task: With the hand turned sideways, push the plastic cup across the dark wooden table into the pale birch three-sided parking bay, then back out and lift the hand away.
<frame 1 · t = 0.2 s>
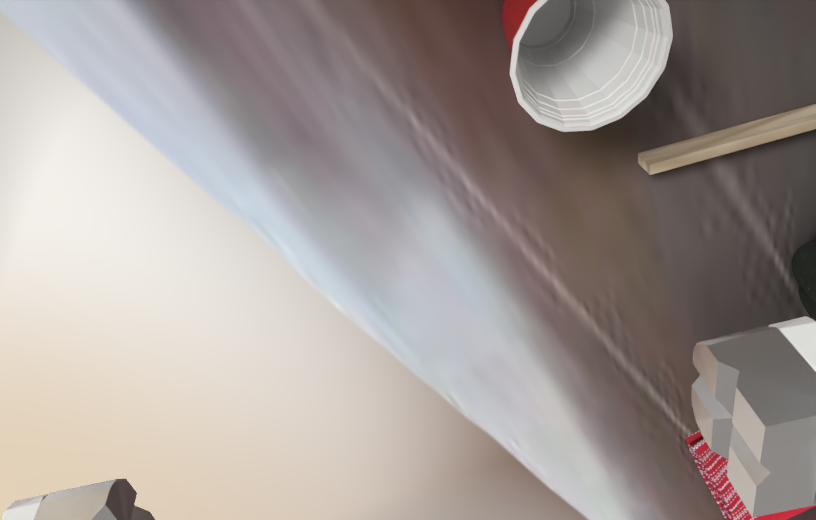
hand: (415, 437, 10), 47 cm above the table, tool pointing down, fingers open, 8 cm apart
dish towel: (766, 454, 90), on the table
plastic cup: (536, 12, 55), on the table
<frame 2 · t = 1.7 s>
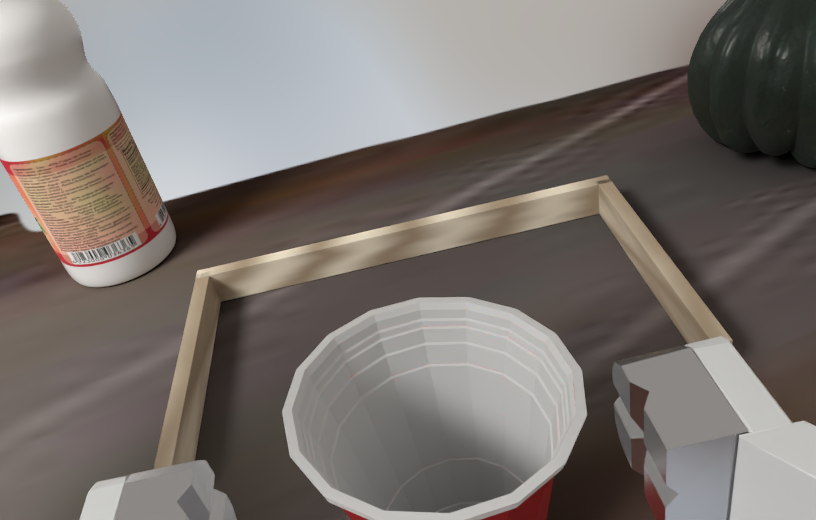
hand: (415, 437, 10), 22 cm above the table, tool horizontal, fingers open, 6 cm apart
squash: (786, 142, 55), on the table
parking bay: (425, 331, 45), on the table
fruit juice: (127, 258, 61), on the table
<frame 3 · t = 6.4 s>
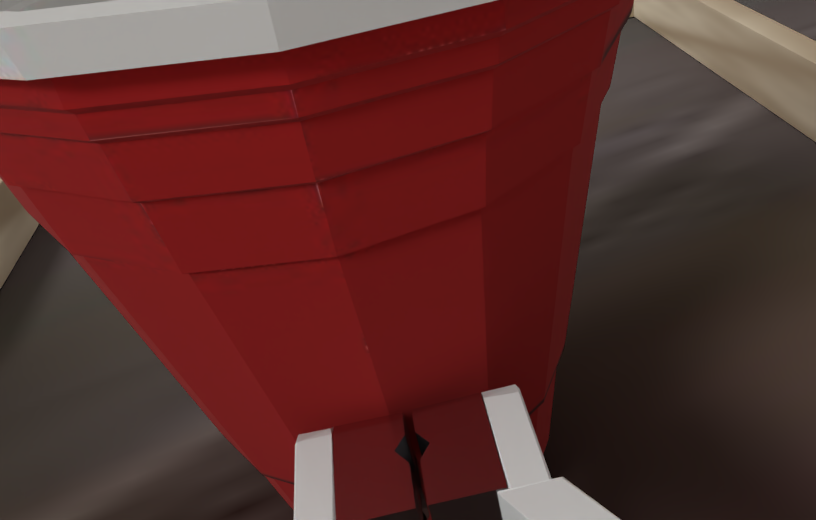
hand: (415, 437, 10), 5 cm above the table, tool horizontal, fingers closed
parking bay: (371, 156, 29), on the table
plastic cup: (428, 454, 16), on the table, touching gripper
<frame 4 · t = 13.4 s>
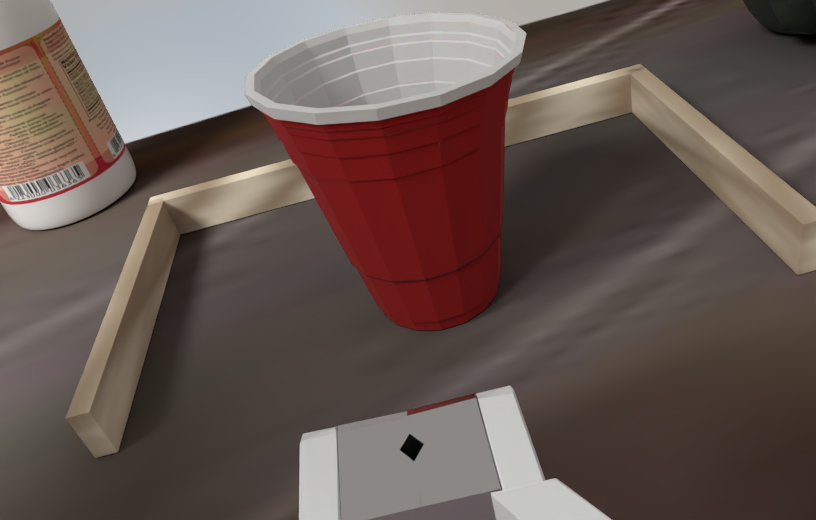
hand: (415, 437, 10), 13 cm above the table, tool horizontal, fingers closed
parking bay: (422, 247, 36), on the table
fruit juice: (80, 200, 52), on the table
plastic cup: (444, 292, 33), on the table
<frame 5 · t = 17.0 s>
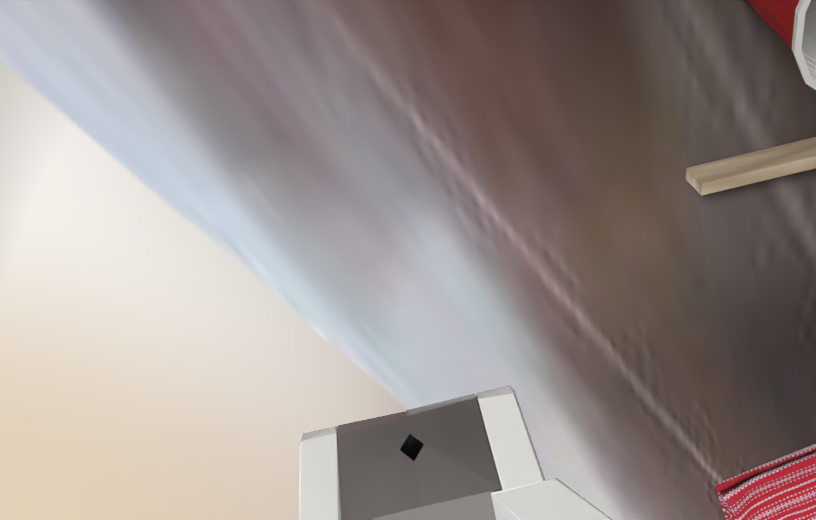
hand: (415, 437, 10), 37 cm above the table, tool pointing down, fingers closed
dish towel: (801, 505, 80), on the table
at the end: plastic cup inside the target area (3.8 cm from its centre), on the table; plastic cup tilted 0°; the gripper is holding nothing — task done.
